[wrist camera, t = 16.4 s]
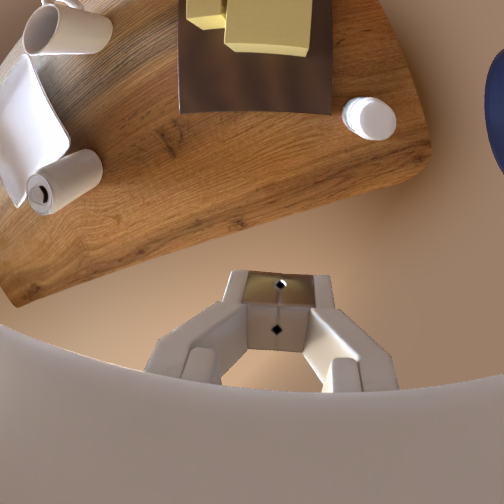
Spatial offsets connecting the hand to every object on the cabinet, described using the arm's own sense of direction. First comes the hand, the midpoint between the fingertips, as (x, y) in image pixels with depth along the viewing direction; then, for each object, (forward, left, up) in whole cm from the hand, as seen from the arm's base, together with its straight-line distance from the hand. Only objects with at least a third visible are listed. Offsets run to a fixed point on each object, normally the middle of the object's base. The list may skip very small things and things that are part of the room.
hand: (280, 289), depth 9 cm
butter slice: (+8, -18, -27) cm, 34 cm away
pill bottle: (-9, -4, -29) cm, 31 cm away
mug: (+27, -20, -29) cm, 45 cm away
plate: (+44, -6, -29) cm, 53 cm away
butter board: (+4, -14, -29) cm, 33 cm away
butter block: (+2, -15, -27) cm, 31 cm away
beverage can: (+30, +3, -29) cm, 42 cm away
